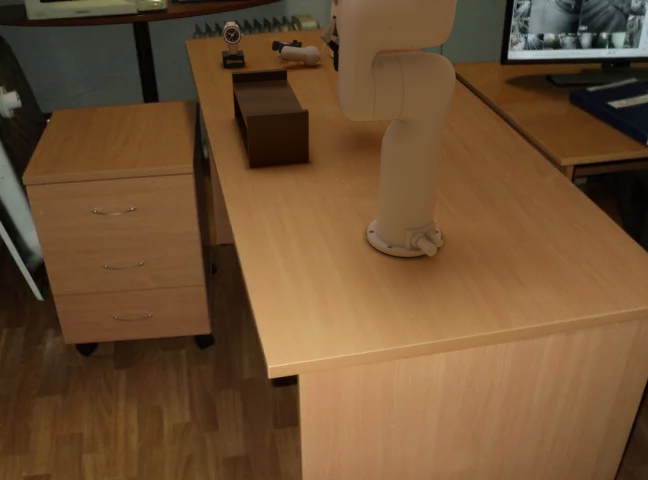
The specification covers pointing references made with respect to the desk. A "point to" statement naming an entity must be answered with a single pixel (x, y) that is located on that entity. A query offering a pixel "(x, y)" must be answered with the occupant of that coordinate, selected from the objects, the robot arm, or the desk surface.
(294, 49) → the clip-on lamp
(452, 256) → the desk surface
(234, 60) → the watch
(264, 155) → the shelf
